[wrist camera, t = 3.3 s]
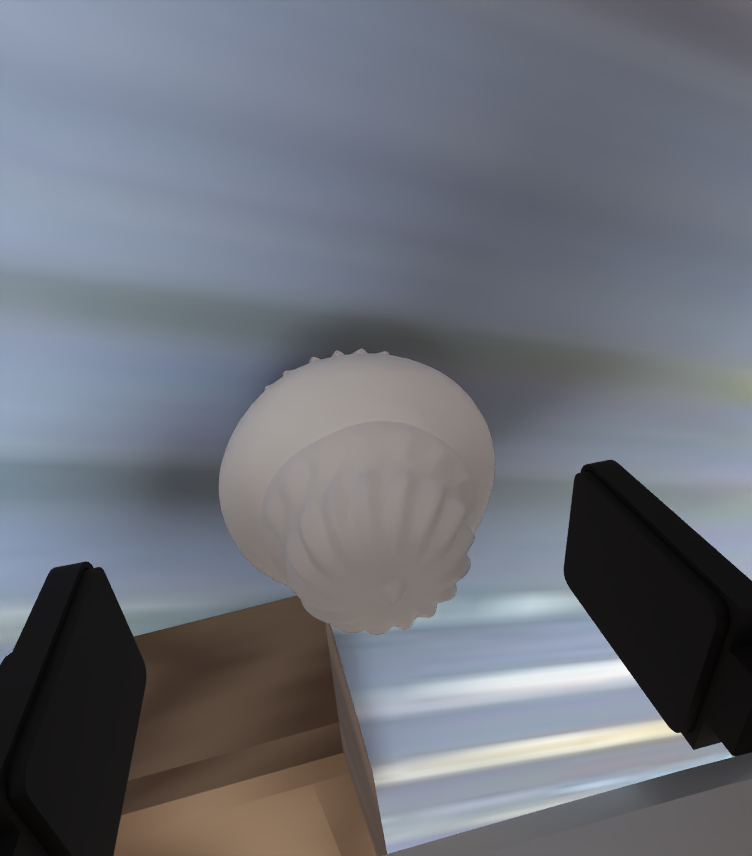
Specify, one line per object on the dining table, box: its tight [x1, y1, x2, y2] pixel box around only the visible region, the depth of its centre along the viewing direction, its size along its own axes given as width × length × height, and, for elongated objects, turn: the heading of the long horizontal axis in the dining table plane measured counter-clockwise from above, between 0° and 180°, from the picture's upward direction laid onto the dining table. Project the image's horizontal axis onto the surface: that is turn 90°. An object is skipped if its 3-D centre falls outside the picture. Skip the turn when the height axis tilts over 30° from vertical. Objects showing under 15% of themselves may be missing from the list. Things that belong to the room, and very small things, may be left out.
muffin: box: [219, 349, 495, 635], centre depth 12 cm, size 6×6×7 cm
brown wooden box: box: [114, 596, 387, 856], centre depth 19 cm, size 12×12×6 cm
